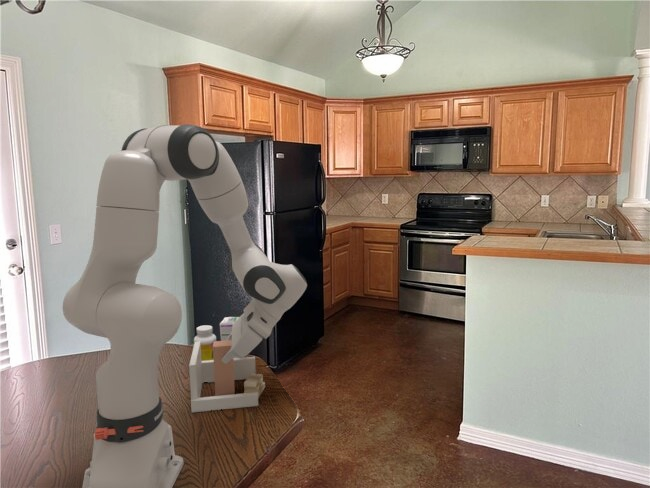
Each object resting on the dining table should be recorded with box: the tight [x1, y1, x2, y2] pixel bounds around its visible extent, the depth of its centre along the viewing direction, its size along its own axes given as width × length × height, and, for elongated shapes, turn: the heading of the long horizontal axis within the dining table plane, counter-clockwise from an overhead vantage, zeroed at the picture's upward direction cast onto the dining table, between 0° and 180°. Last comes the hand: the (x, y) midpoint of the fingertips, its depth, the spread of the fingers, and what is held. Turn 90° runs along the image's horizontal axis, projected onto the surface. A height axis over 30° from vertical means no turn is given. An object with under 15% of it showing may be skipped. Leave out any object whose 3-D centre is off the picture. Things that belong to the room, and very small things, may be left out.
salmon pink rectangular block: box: [213, 340, 236, 396], centre depth 125 cm, size 4×5×14 cm
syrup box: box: [219, 316, 240, 358], centre depth 143 cm, size 6×6×14 cm
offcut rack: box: [188, 341, 259, 413], centre depth 125 cm, size 18×16×12 cm
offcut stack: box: [243, 373, 266, 399], centre depth 126 cm, size 8×4×4 cm, turn 172°
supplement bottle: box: [193, 324, 217, 361], centre depth 141 cm, size 7×7×13 cm
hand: (224, 354), depth 125 cm, fingers open, 8 cm apart
